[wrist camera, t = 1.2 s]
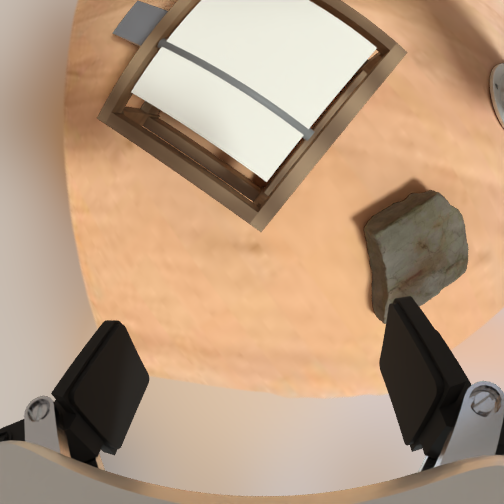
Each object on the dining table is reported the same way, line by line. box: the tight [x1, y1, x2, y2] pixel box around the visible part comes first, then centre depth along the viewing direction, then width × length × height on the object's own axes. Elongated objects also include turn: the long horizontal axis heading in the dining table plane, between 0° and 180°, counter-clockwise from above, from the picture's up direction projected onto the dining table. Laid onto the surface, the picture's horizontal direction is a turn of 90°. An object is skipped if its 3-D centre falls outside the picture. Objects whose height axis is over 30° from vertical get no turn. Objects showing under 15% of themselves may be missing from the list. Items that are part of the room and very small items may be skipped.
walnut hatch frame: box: [97, 0, 407, 232], centre depth 23 cm, size 21×18×10 cm
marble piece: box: [364, 190, 468, 324], centre depth 32 cm, size 17×15×4 cm
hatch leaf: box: [131, 0, 377, 182], centre depth 20 cm, size 15×15×5 cm
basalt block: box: [113, 1, 168, 47], centre depth 23 cm, size 5×5×5 cm
